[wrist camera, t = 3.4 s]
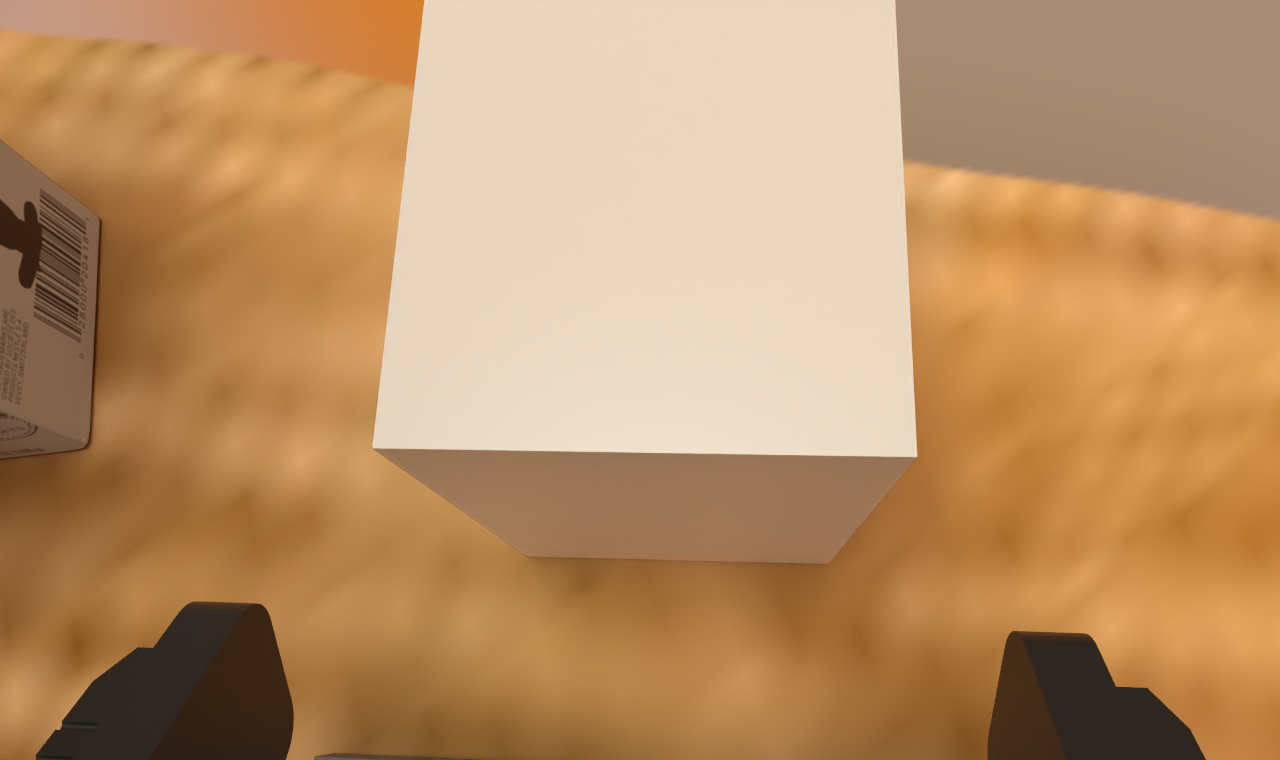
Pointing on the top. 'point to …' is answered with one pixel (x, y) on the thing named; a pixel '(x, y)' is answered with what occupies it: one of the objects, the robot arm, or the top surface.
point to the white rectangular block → (654, 276)
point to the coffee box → (44, 311)
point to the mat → (374, 757)
